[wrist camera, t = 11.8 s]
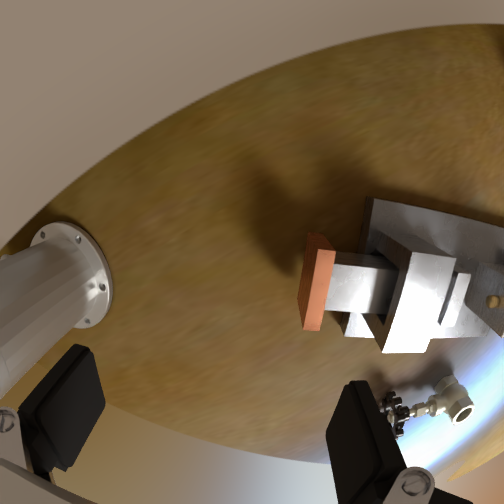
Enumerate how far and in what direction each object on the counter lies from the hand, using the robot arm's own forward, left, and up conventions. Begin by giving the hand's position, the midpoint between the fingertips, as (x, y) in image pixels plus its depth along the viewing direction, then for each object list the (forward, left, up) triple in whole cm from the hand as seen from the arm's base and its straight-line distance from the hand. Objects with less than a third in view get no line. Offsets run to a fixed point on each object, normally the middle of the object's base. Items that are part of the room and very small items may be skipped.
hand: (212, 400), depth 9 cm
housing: (+26, 0, -16) cm, 31 cm away
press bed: (+20, 0, -18) cm, 27 cm away
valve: (+25, -16, -18) cm, 35 cm away
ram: (+12, 0, -16) cm, 20 cm away
